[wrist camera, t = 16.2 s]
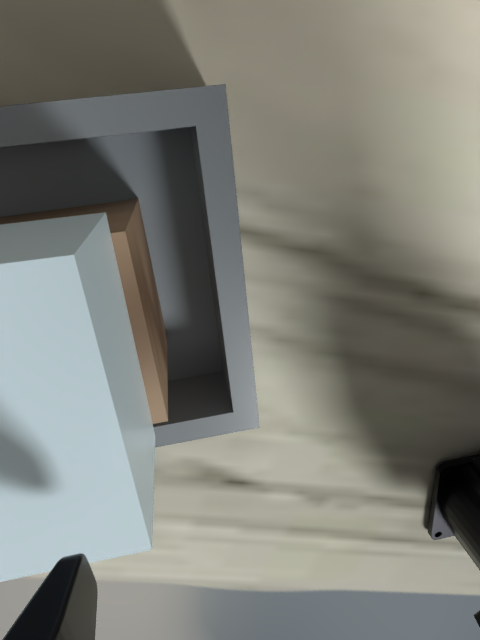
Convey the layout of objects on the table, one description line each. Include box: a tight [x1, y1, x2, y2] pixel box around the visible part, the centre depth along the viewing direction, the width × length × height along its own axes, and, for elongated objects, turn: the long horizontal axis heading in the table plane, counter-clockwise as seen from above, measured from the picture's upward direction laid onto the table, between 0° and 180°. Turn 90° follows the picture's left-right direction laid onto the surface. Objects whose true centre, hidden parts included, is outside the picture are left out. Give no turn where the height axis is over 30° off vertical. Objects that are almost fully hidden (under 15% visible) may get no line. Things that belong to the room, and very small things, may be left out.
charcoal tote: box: [0, 84, 260, 447], centre depth 16 cm, size 12×12×4 cm
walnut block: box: [0, 198, 168, 424], centre depth 14 cm, size 6×6×6 cm
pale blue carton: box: [0, 212, 155, 582], centre depth 10 cm, size 7×5×4 cm
